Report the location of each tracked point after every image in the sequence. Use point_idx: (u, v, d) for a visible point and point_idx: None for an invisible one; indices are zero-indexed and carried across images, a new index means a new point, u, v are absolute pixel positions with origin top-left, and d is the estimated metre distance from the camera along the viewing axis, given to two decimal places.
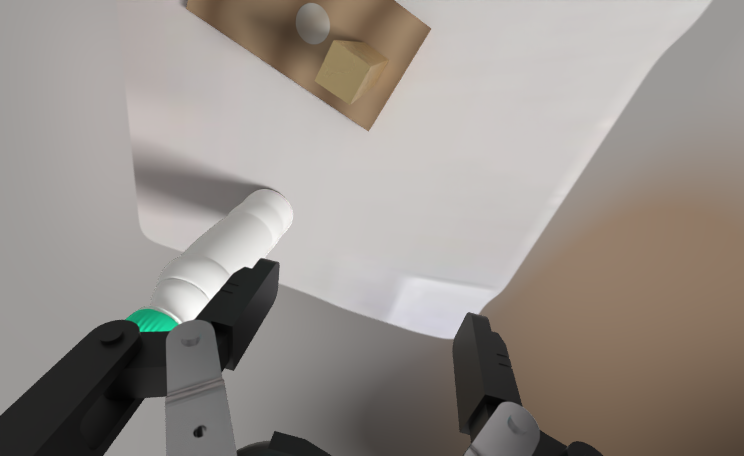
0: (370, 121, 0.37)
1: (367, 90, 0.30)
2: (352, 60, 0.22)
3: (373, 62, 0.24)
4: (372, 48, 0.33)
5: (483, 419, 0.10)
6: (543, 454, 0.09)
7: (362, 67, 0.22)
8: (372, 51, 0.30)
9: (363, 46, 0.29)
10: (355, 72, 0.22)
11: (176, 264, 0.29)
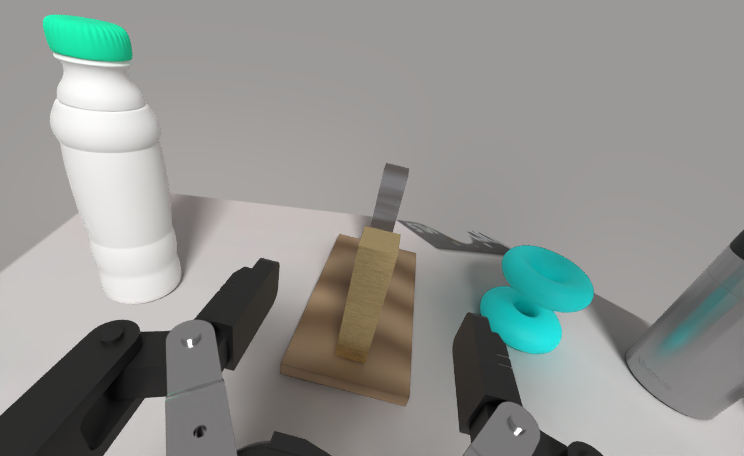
0: (293, 363, 0.29)
1: (344, 318, 0.28)
2: (394, 244, 0.25)
3: (389, 281, 0.25)
4: None
5: (483, 419, 0.10)
6: (543, 454, 0.09)
7: (393, 250, 0.24)
8: None
9: None
10: (386, 247, 0.24)
11: None
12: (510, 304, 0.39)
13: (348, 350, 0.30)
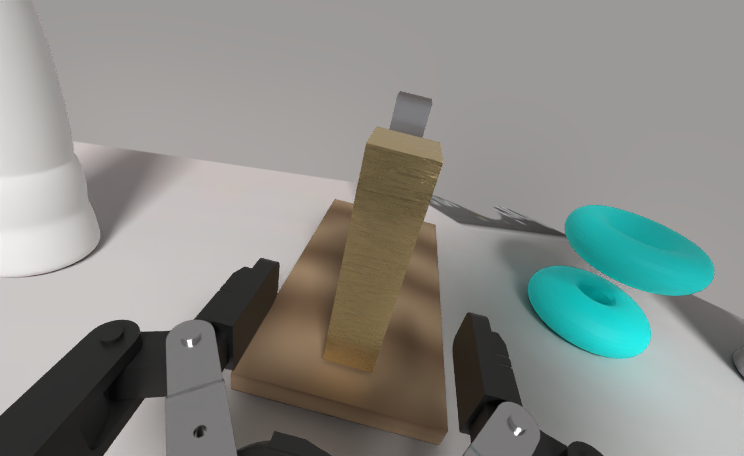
0: (253, 372, 0.17)
1: (339, 295, 0.16)
2: (432, 150, 0.13)
3: None
4: None
5: (483, 419, 0.10)
6: (543, 454, 0.09)
7: (433, 156, 0.12)
8: None
9: None
10: (420, 151, 0.13)
11: None
12: (575, 288, 0.28)
13: (345, 351, 0.18)
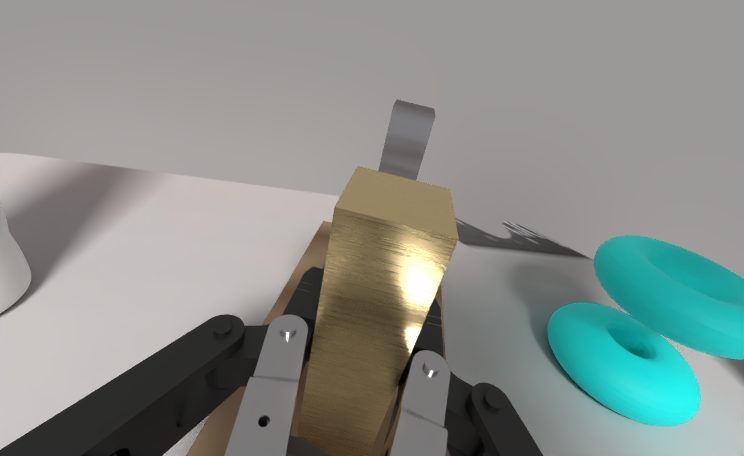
0: None
1: (308, 397, 0.12)
2: (440, 210, 0.09)
3: None
4: None
5: (406, 367, 0.11)
6: (453, 394, 0.10)
7: (442, 224, 0.08)
8: None
9: None
10: (421, 214, 0.08)
11: None
12: (606, 336, 0.23)
13: None
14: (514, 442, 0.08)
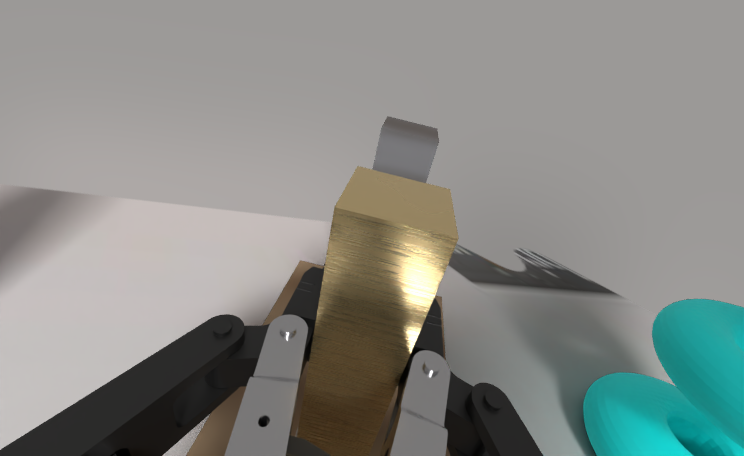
0: None
1: (308, 397, 0.12)
2: (440, 210, 0.09)
3: None
4: None
5: (406, 367, 0.11)
6: (453, 394, 0.10)
7: (442, 225, 0.08)
8: None
9: None
10: (421, 215, 0.08)
11: None
12: (670, 437, 0.17)
13: None
14: (514, 442, 0.08)
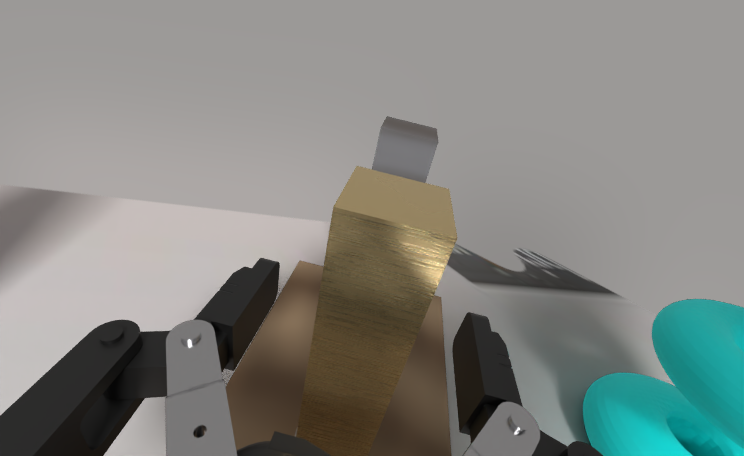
0: None
1: (307, 396, 0.12)
2: (439, 209, 0.09)
3: None
4: None
5: (483, 419, 0.10)
6: (543, 454, 0.09)
7: (441, 224, 0.08)
8: None
9: None
10: (420, 214, 0.08)
11: None
12: (670, 437, 0.17)
13: None
14: None
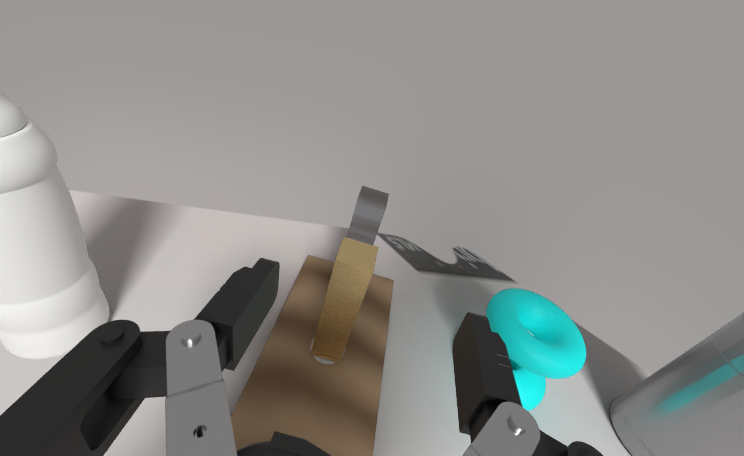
0: None
1: (320, 323, 0.29)
2: (371, 258, 0.25)
3: (364, 293, 0.26)
4: None
5: (483, 419, 0.10)
6: (543, 454, 0.09)
7: (369, 265, 0.25)
8: None
9: None
10: (363, 261, 0.25)
11: (49, 140, 0.21)
12: None
13: (323, 351, 0.31)
14: None
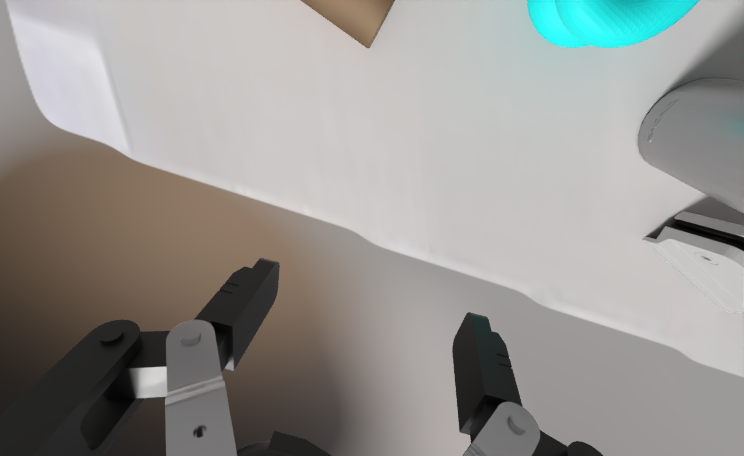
0: None
1: None
2: None
3: None
4: None
5: (483, 419, 0.10)
6: (543, 454, 0.09)
7: None
8: None
9: None
10: None
11: None
12: None
13: None
14: None
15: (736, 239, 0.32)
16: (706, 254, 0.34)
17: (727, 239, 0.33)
